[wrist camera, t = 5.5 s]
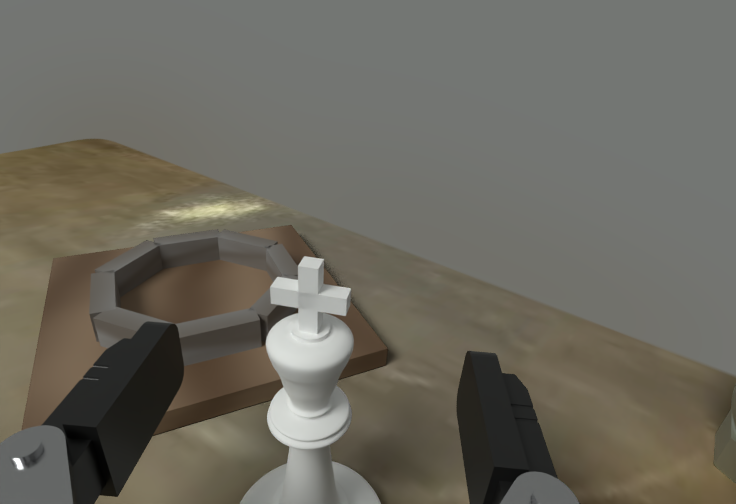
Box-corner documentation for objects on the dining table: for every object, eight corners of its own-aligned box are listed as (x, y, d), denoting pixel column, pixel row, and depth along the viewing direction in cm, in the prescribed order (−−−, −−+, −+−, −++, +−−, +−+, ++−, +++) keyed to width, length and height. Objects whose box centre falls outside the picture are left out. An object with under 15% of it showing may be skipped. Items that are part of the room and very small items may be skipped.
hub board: (291, 237, 32) (290, 204, 31) (385, 365, 21) (390, 322, 20) (57, 273, 26) (46, 234, 25) (25, 473, 16) (2, 422, 14)
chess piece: (372, 656, 12) (417, 361, 7) (195, 609, 13) (128, 310, 8) (397, 485, 16) (435, 229, 11) (264, 456, 17) (248, 204, 12)
